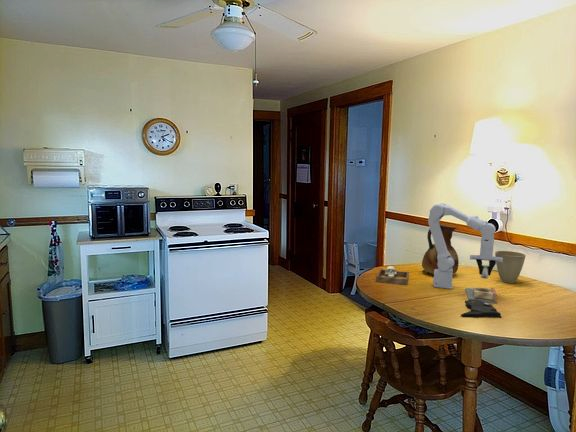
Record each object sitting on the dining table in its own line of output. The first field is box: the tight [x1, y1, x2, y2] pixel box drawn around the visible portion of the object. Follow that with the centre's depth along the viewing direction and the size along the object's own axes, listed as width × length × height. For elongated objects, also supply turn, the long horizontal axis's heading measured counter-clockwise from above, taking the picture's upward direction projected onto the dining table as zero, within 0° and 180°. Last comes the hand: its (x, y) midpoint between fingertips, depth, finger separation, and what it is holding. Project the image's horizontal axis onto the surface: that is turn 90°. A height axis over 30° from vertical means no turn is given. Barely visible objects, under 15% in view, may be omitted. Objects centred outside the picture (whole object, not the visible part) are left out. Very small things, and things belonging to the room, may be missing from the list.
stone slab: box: [460, 299, 502, 319], centre depth 178 cm, size 22×16×5 cm
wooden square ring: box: [472, 286, 493, 300], centre depth 193 cm, size 8×8×3 cm
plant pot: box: [494, 250, 526, 284], centre depth 223 cm, size 15×15×16 cm
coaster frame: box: [375, 268, 410, 286], centre depth 224 cm, size 16×16×3 cm
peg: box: [480, 264, 489, 280], centre depth 200 cm, size 3×3×6 cm
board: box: [464, 287, 498, 304], centre depth 197 cm, size 12×18×4 cm, turn 161°
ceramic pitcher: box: [421, 223, 460, 275], centre depth 236 cm, size 20×20×30 cm
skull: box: [384, 265, 398, 278], centre depth 223 cm, size 12×10×10 cm
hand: (484, 274), depth 200 cm, fingers closed on peg, 3 cm apart
